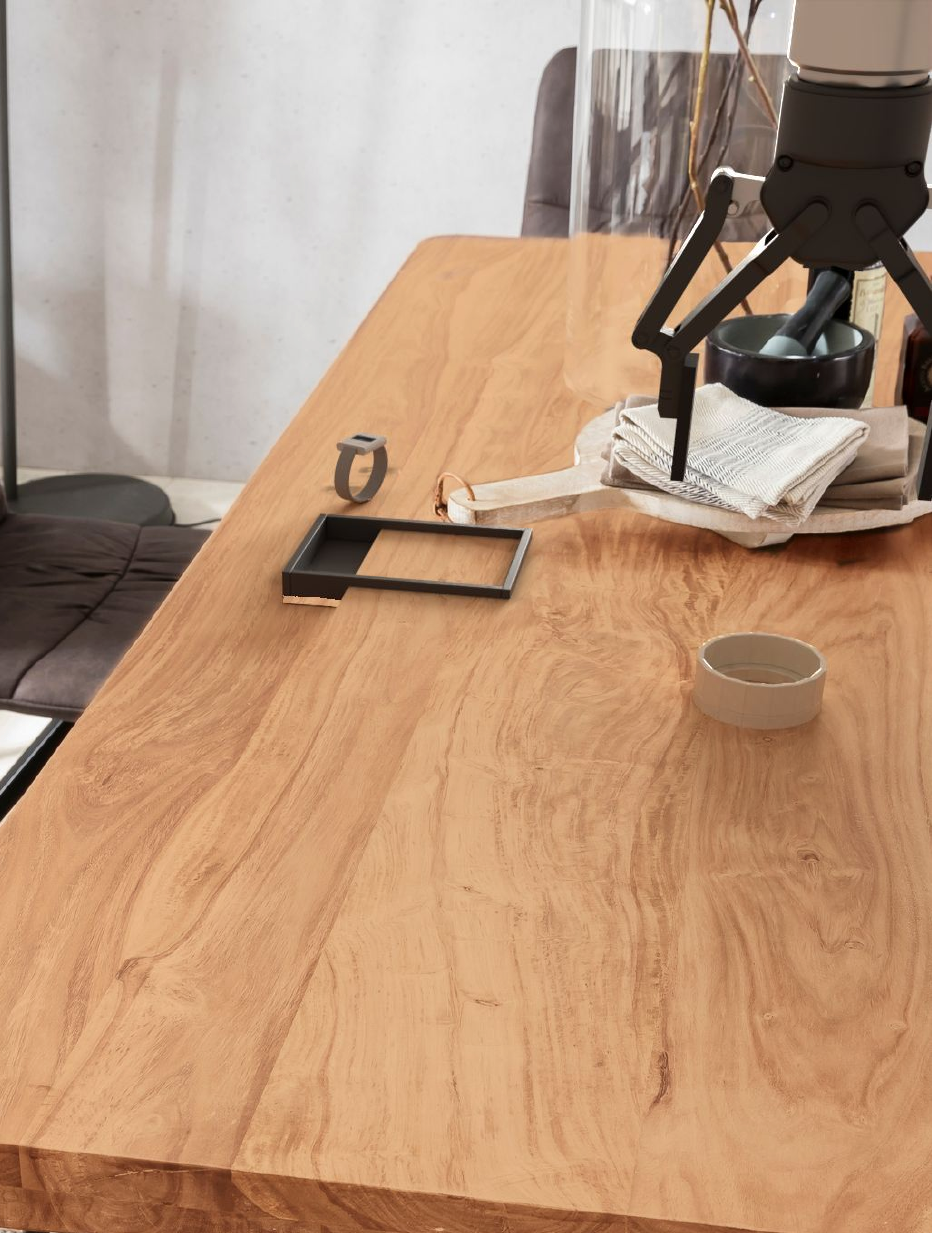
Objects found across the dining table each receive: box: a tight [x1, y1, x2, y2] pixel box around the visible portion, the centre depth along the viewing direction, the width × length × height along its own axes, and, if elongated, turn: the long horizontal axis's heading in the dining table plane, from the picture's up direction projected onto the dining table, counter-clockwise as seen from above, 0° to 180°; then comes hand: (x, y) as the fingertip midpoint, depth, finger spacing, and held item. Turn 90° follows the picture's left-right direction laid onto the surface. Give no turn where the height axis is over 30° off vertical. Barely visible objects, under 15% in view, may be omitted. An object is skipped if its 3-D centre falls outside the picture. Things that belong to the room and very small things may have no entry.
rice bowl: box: [691, 631, 828, 731], centre depth 105 cm, size 8×8×4 cm
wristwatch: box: [333, 431, 389, 504], centre depth 138 cm, size 6×3×5 cm, turn 146°
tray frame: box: [281, 512, 534, 601], centre depth 125 cm, size 16×12×2 cm
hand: (799, 483), depth 98 cm, fingers open, 13 cm apart
